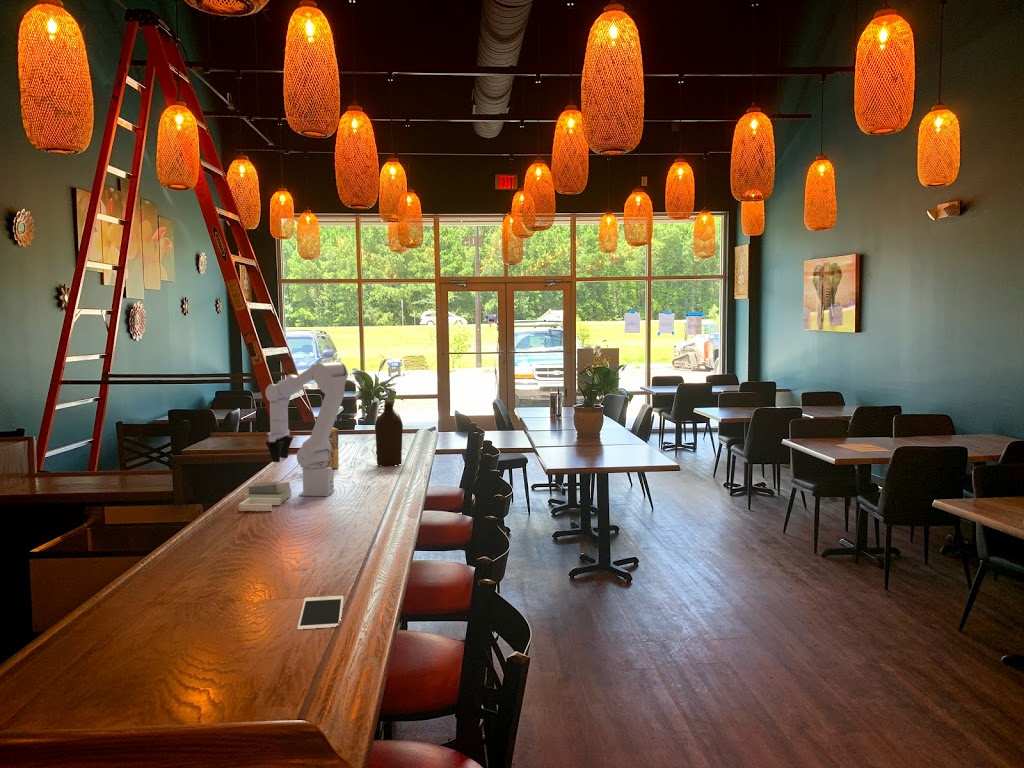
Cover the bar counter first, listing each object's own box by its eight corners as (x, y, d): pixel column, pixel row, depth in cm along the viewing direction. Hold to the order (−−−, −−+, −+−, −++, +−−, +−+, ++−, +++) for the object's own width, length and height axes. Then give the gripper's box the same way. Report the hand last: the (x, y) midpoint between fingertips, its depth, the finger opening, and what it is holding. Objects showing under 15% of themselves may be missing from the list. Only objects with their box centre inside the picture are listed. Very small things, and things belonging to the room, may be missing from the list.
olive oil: (407, 463, 301) (407, 400, 299) (394, 468, 291) (394, 402, 289) (384, 461, 305) (383, 399, 303) (370, 466, 295) (369, 401, 293)
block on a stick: (292, 492, 243) (291, 480, 242) (287, 496, 238) (285, 483, 237) (256, 495, 243) (254, 483, 243) (249, 499, 238) (248, 487, 238)
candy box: (334, 466, 294) (333, 427, 292) (339, 468, 290) (338, 428, 289) (312, 469, 288) (311, 429, 287) (317, 471, 285) (316, 430, 283)
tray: (291, 496, 245) (290, 488, 244) (281, 503, 236) (281, 495, 236) (255, 496, 245) (254, 488, 245) (244, 502, 237) (244, 494, 236)
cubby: (280, 505, 233) (280, 498, 233) (271, 512, 225) (270, 504, 225) (249, 504, 234) (249, 497, 234) (238, 511, 226) (238, 504, 226)
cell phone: (343, 598, 157) (343, 595, 157) (340, 629, 142) (340, 626, 142) (304, 600, 156) (304, 597, 156) (296, 632, 140) (296, 629, 140)
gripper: (275, 416, 263) (276, 455, 264) (259, 422, 249) (260, 463, 250) (295, 417, 263) (296, 456, 264) (280, 422, 248) (281, 464, 249)
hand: (280, 460), depth 257 cm, fingers open, 7 cm apart
